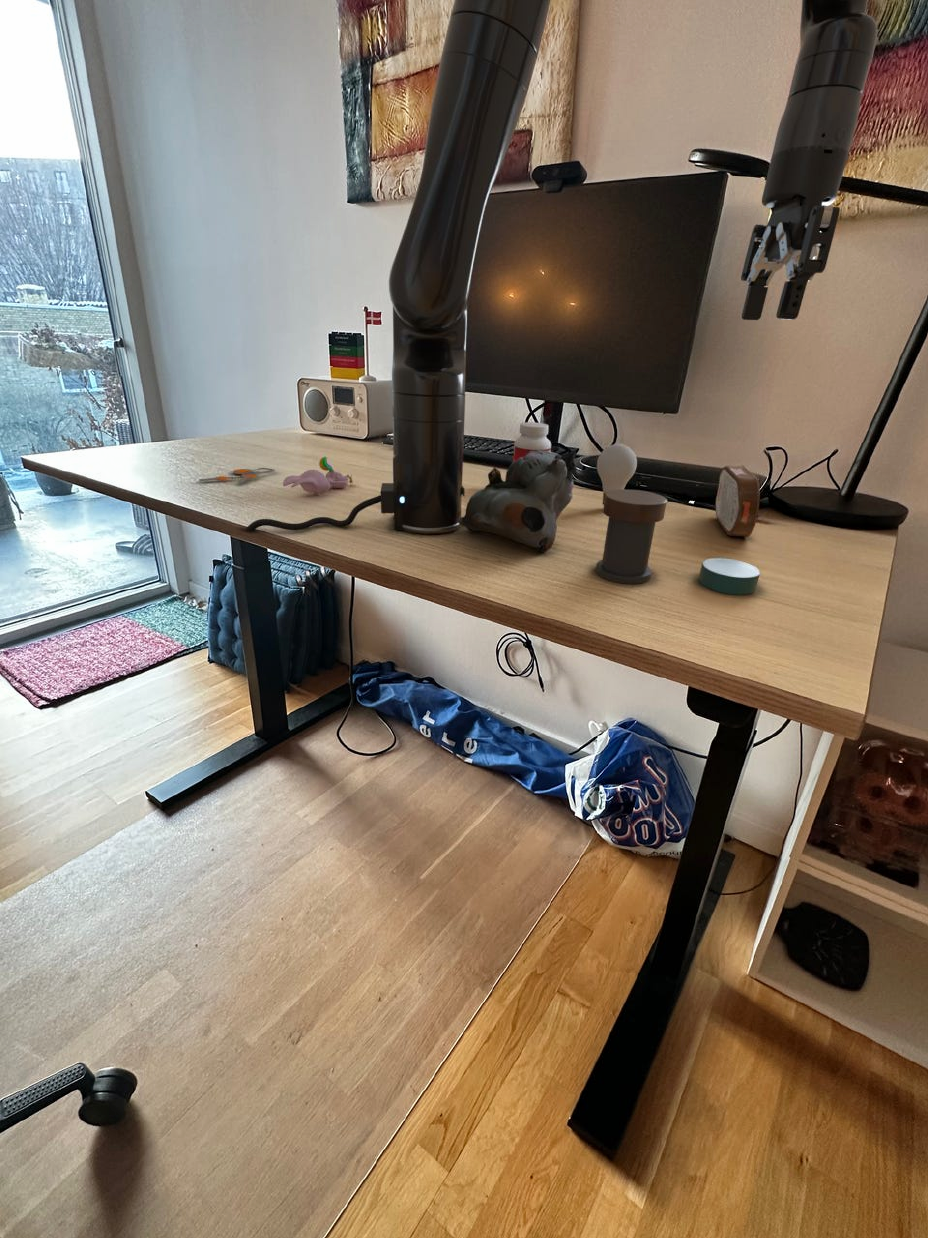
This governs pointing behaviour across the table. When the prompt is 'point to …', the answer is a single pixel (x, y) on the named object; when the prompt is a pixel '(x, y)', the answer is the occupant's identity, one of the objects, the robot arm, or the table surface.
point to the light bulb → (616, 467)
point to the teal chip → (729, 576)
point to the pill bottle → (531, 439)
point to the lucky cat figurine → (524, 499)
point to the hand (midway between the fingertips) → (767, 319)
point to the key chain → (244, 477)
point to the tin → (737, 500)
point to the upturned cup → (626, 552)
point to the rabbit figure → (319, 479)
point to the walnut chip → (634, 506)
